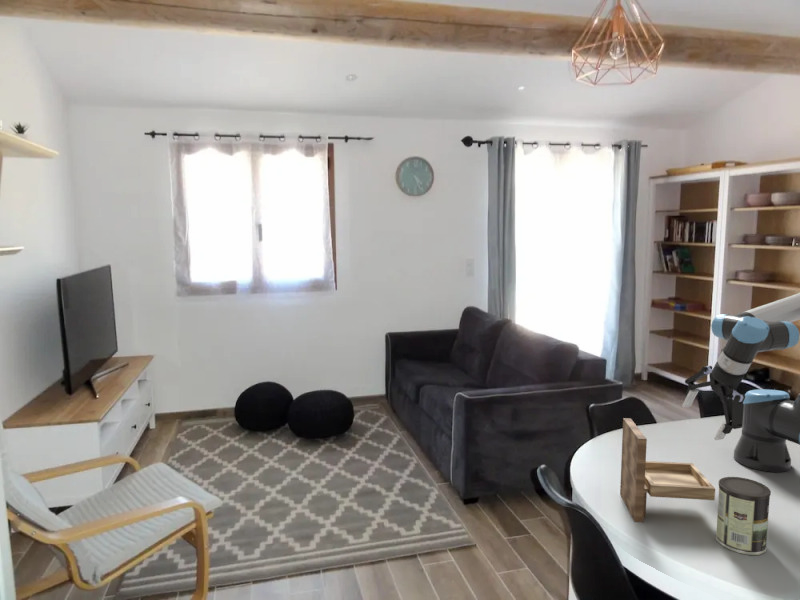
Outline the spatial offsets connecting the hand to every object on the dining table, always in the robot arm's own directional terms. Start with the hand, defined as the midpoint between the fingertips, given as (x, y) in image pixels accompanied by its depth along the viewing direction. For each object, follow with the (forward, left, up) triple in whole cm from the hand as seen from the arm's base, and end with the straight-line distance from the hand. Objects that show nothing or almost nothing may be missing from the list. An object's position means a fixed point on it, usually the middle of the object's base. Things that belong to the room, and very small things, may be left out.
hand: (701, 422), depth 165 cm
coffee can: (+5, +39, -16) cm, 42 cm away
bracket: (+18, +25, -16) cm, 34 cm away
